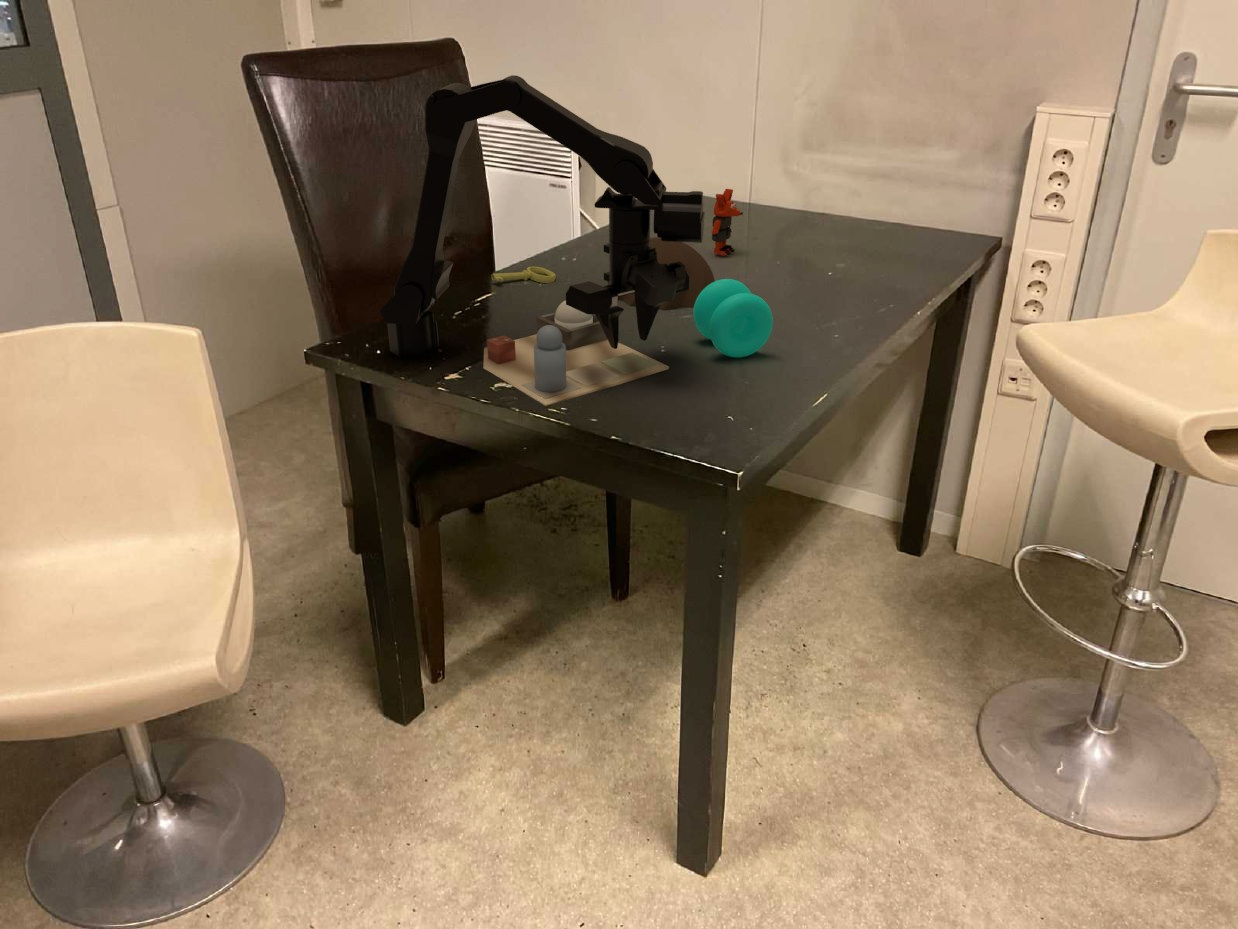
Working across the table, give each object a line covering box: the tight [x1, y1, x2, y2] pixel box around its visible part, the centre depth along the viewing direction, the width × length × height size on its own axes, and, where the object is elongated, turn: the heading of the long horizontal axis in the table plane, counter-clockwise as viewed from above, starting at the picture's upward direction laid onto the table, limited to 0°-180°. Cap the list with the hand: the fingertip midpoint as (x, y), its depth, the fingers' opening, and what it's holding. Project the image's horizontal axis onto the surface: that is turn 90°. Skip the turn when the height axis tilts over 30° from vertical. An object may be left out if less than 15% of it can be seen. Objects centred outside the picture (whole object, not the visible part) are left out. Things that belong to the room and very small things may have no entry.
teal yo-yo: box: [692, 278, 774, 358], centre depth 153 cm, size 10×10×10 cm
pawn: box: [534, 325, 567, 393], centre depth 139 cm, size 4×4×9 cm
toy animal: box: [711, 188, 744, 256], centre depth 198 cm, size 8×6×12 cm
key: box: [491, 266, 557, 284], centre depth 183 cm, size 7×12×2 cm, turn 138°
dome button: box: [555, 299, 593, 329], centre depth 157 cm, size 6×6×6 cm
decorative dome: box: [607, 237, 716, 311], centre depth 178 cm, size 19×20×10 cm
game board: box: [483, 311, 670, 407], centre depth 150 cm, size 22×23×4 cm
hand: (628, 343), depth 148 cm, fingers open, 5 cm apart
